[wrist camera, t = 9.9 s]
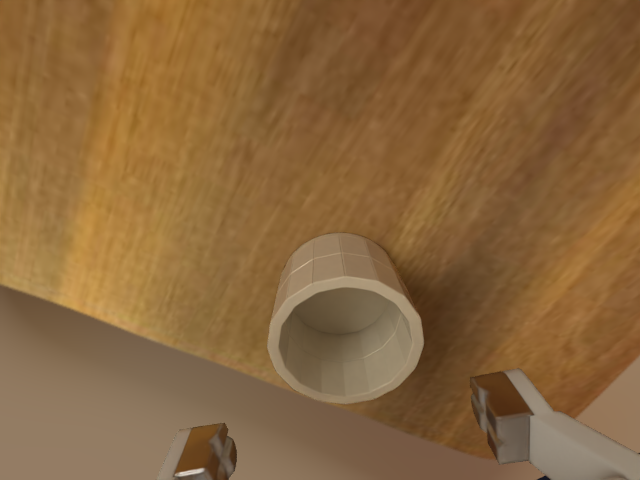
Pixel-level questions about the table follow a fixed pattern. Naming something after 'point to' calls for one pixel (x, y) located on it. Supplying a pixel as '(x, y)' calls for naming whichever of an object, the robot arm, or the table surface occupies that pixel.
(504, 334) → the table surface
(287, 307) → the beige cup
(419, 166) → the table surface
